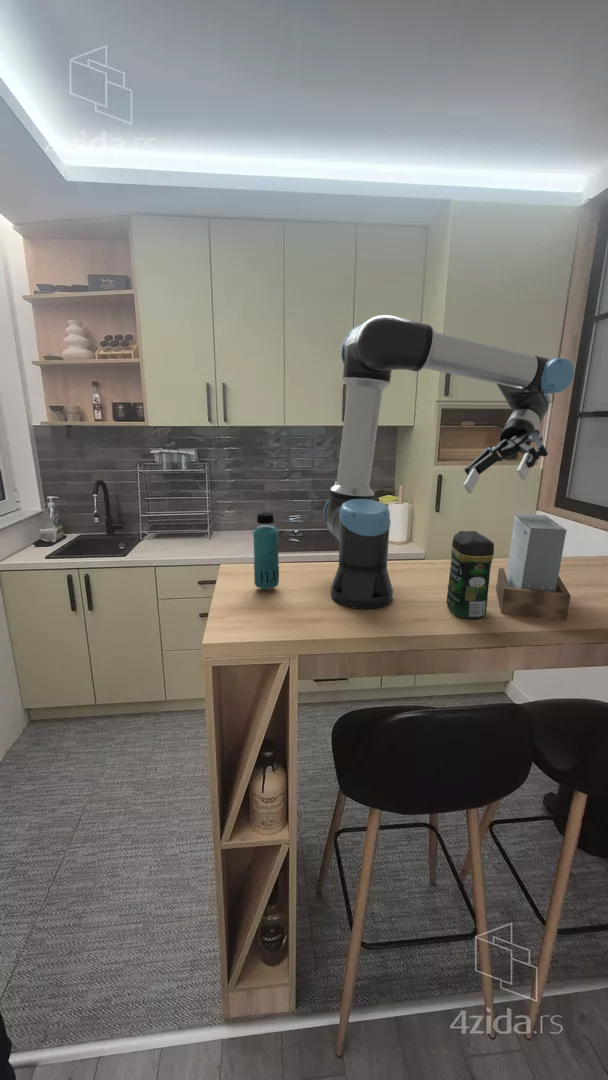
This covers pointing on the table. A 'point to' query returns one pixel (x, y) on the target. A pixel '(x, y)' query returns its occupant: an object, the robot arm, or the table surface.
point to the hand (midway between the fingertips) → (492, 482)
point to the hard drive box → (535, 553)
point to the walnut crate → (532, 600)
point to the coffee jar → (469, 574)
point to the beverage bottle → (266, 553)
